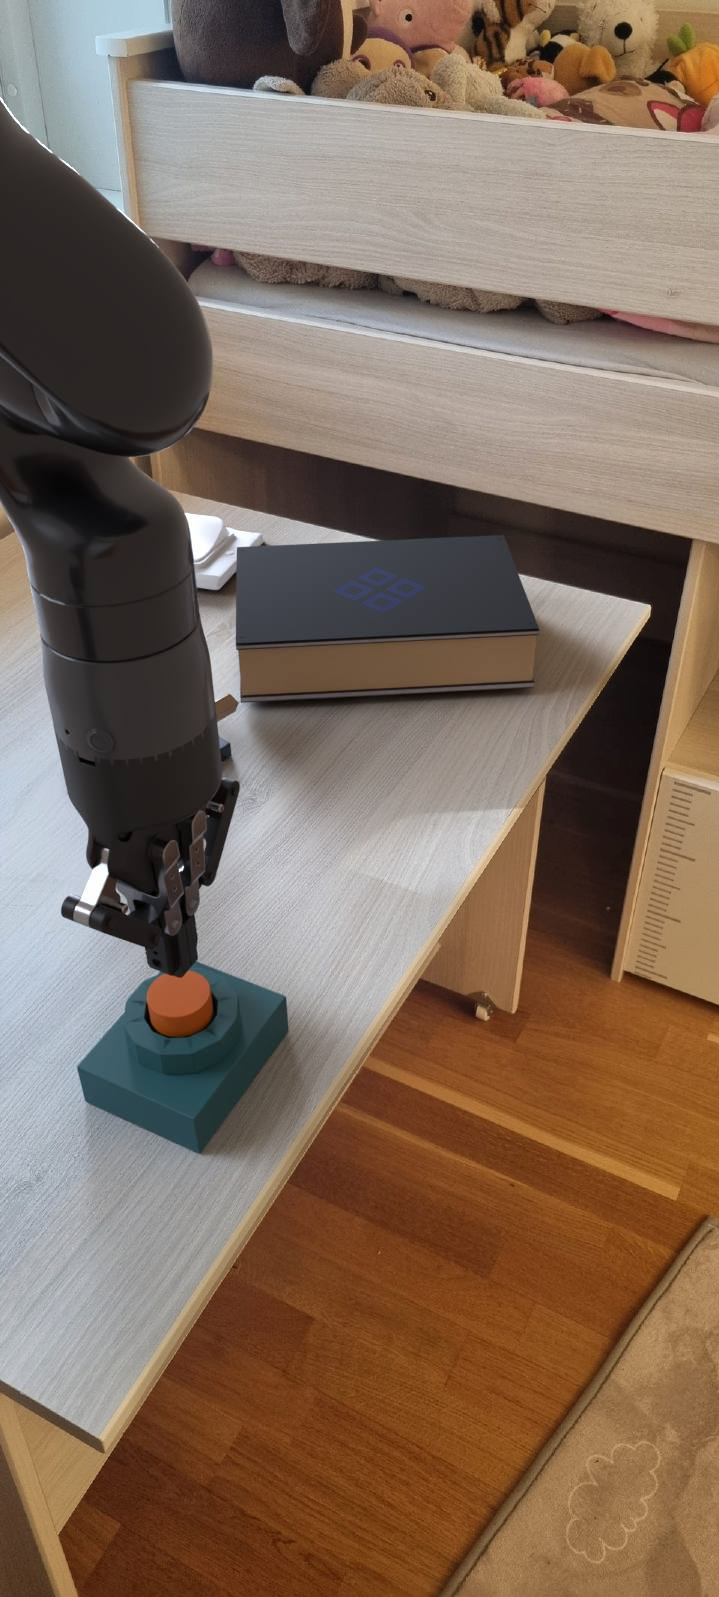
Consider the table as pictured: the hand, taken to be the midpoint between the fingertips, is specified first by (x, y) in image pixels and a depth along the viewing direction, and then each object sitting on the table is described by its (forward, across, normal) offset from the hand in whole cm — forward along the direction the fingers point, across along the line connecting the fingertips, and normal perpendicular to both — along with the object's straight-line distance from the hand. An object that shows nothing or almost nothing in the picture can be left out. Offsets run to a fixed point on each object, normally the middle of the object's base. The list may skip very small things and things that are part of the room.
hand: (174, 965), depth 66 cm
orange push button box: (+9, 0, 0) cm, 9 cm away
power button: (+4, 0, 0) cm, 4 cm away
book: (+9, -48, -11) cm, 50 cm away
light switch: (+9, -55, -36) cm, 66 cm away
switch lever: (0, -24, -18) cm, 30 cm away
